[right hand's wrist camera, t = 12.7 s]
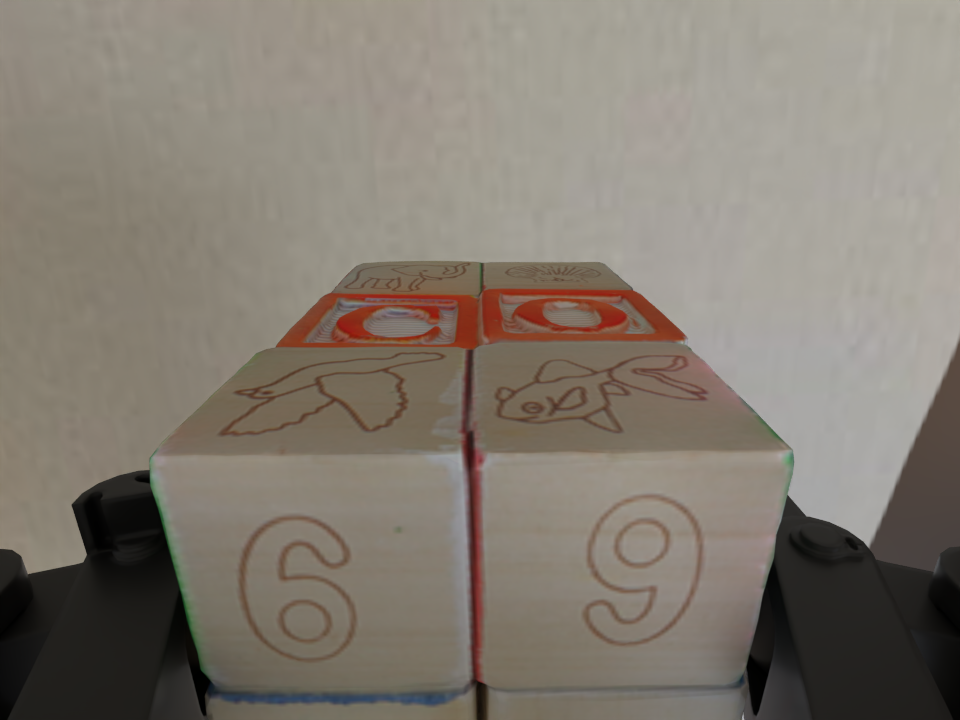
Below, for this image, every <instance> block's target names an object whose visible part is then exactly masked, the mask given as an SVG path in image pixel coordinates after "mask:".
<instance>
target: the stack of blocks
mask: <svg viewBox="0 0 960 720" xmlns="http://www.w3.org/2000/svg"><path fill="white" fill-rule="evenodd" d="M687 344H688V338H687V337H686V336H685V334H684V333H683V332H682V331H681V330H680V329H679V328H677V327H676V326H675V325H674V324H673V323H672V322H671V321H670V320H669V319H668V318H667V317H666V316H665V315H664V314H662V313H661V312H660V311H659V310H658V309H657V308H656V307H655V306H653V305H652V304H651V303H650V302H649V301H648V300H647V299H645V298H644V297H643V296H642V295H641V294H639V293H637V292H635V291H633V288H632V287H631V286H629V285H628V284H627V283H626V282H625V281H623V280H622V279H621V278H620V277H619V276H618V275H617V274H615V273H614V272H613V271H612V270H611V269H610V268H608V267H607V266H606V265H605V264H603V263H600V262H580V263H542V262H490V263H479V262H457V261H404V262H378V263H363V264H361V265H358V266H356V267H355V268H354V269H353V270H352V271H350V272H349V273H348V274H347V275H346V276H345V277H344V278H343V280H342V281H341V282H340V283H339V284H338V286H336V287H335V289H334V290H333V291H332V292H331V293H329V294H327V295H324V296H323V297H322V298H320V300H319V301H318V302H317V303H316V304H315V305H314V306H313V307H312V308H311V309H310V310H309V311H308V312H307V313H306V314H305V315H304V316H303V317H302V318H301V319H300V320H299V321H298V322H297V323H296V324H295V325H294V326H293V327H292V328H291V329H290V330H289V331H288V332H287V334H286V335H285V336H284V337H283V338H282V339H281V341H280V342H279V343H278V344H277V346H276V348H271V349H266V350H263V351H261V352H258V353H256V354H255V355H254V356H253V357H252V359H251V360H250V361H249V362H248V363H247V364H245V365H244V366H243V367H242V368H241V369H240V370H239V371H238V372H237V373H236V374H235V375H234V376H233V377H232V378H231V379H229V380H228V381H227V382H226V383H225V384H224V385H223V386H222V387H221V388H219V389H218V390H217V391H216V392H215V393H214V394H213V395H212V396H211V397H210V398H209V399H208V400H207V401H206V402H205V403H204V404H203V405H202V406H201V407H200V408H199V409H198V410H197V411H195V412H194V413H193V414H192V415H191V416H190V417H189V418H188V419H187V420H186V421H185V422H184V423H182V424H181V425H180V426H179V427H178V428H177V429H176V430H175V431H174V432H173V433H172V434H171V435H169V436H168V437H167V438H166V439H165V440H164V441H163V442H162V443H161V445H160V446H159V447H158V448H157V450H156V451H155V452H154V453H153V455H152V456H151V457H150V462H149V465H150V486H151V489H152V492H153V495H154V498H155V501H156V504H157V507H158V510H159V513H160V517H161V521H162V525H163V529H164V532H165V536H166V540H167V544H168V548H169V551H170V555H171V559H172V562H173V566H174V569H175V573H176V577H177V580H178V584H179V588H180V591H181V595H182V599H183V604H184V608H185V613H186V617H187V622H188V625H189V628H190V632H191V635H192V639H193V642H194V645H195V647H196V650H197V652H198V658H199V663H200V668H201V671H202V672H203V673H204V674H205V675H206V676H207V678H208V679H209V680H210V683H209V685H208V688H207V691H206V694H205V704H206V713H207V717H208V720H742V715H743V711H744V707H745V703H746V698H747V693H748V688H749V685H748V682H747V679H746V675H745V672H744V671H745V669H746V665H747V662H748V658H749V654H750V650H751V647H752V642H753V638H754V634H755V630H756V626H757V622H758V618H759V613H760V607H761V602H762V597H763V592H764V589H765V585H766V581H767V578H768V574H769V571H770V568H771V565H772V562H773V559H774V552H775V542H776V534H777V531H778V528H779V525H780V523H781V519H782V515H783V511H784V506H785V502H786V498H787V494H788V490H789V486H790V482H791V478H792V474H793V466H794V456H793V450H792V449H791V448H790V447H789V446H788V445H787V444H786V443H785V442H784V441H783V440H782V439H781V438H780V437H779V436H778V435H777V434H776V433H775V432H774V431H773V430H772V429H771V428H770V427H769V426H768V425H767V424H766V422H765V421H764V420H763V419H762V418H761V417H760V416H759V415H758V414H757V413H756V412H755V411H754V410H753V409H752V408H751V407H750V406H749V405H748V404H747V403H746V402H745V401H744V400H743V399H742V398H741V397H740V396H739V395H738V394H737V393H736V392H735V391H734V390H732V389H731V388H730V387H729V386H728V385H727V384H726V383H725V382H724V381H723V380H722V379H721V378H720V377H719V376H718V375H717V374H716V373H715V372H714V371H713V370H712V369H711V368H710V367H709V365H708V364H707V363H706V362H705V361H703V360H702V359H701V358H700V357H699V356H698V355H696V354H695V353H693V351H692V350H691V348H689V347H688V346H687Z"/></svg>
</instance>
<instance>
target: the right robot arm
mask: <svg viewBox="0 0 960 720" xmlns="http://www.w3.org/2000/svg"><path fill="white" fill-rule="evenodd" d="M72 508H73V511H74V514H75V517H76V521H77V524H78V527H79V530H80V533H81V537H82V540H83V543H84V546H85V549H86V553H87V556H86V558H85V560H84V562H83V563H80V564H76V565H71V566H66V567H61V568H56V569H51V570H46V571H42V572H37V573H32V574H27V571H26V568H25V565H24V563H23V560H22V557H21V556H20V555H19V554H17V553H16V552H14V551H13V550H6V549H0V720H208V717H207V713H206V704H205V694H206V691H207V688H208V685H209V683H210V680H209V679H208V678H207V676H206V675H205V674H204V673H203V672H202V671H201V668H200V663H199V658H198V652H197V650H196V647H195V645H194V642H193V639H192V635H191V632H190V628H189V625H188V622H187V617H186V613H185V608H184V604H183V599H182V595H181V591H180V588H179V584H178V580H177V577H176V573H175V569H174V566H173V562H172V559H171V555H170V551H169V548H168V544H167V540H166V536H165V532H164V529H163V525H162V521H161V517H160V513H159V510H158V507H157V504H156V501H155V498H154V495H153V492H152V489H151V486H150V470H144V471H136V472H132V473H127V474H123V475H119V476H116V477H114V478H111V479H109V480H106V481H103V482H101V483H98V484H97V485H95V486H94V487H92V488H90V489H89V490H87V491H85V492H84V493H82V494H81V495H80V496H79V497H78V498H77V499H76V501H75V502H74V503H73V504H72ZM744 672H745V675H746V679H747V682H748V685H749V688H748V693H747V698H746V703H745V707H744V711H743V712H744V720H960V547H950V548H948V549H947V550H945V551H944V552H942V553H941V554H940V556H939V559H938V561H937V564H936V567H935V570H934V572H931V571H926V570H921V569H916V568H911V567H907V566H902V565H897V564H892V563H887V562H883V561H879V560H876V559H875V557H874V555H873V553H872V552H871V551H870V550H869V548H868V547H867V546H866V545H865V543H864V542H863V541H861V540H860V539H859V538H857V537H856V536H855V535H853V534H852V533H850V532H849V531H847V530H845V529H843V528H841V527H839V526H836V525H834V524H832V523H830V522H827V521H823V520H819V519H816V518H812V517H806V515H805V514H804V513H803V512H802V511H801V510H800V509H799V508H798V506H797V505H796V504H795V503H794V502H793V501H792V500H791V498H790V497H789V496H788V495H787V498H786V502H785V506H784V511H783V515H782V519H781V523H780V525H779V528H778V531H777V534H776V542H775V552H774V559H773V562H772V565H771V568H770V571H769V574H768V578H767V581H766V585H765V589H764V592H763V597H762V602H761V607H760V613H759V618H758V622H757V626H756V630H755V634H754V638H753V642H752V647H751V650H750V654H749V658H748V662H747V665H746V669H745V671H744Z"/></svg>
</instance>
